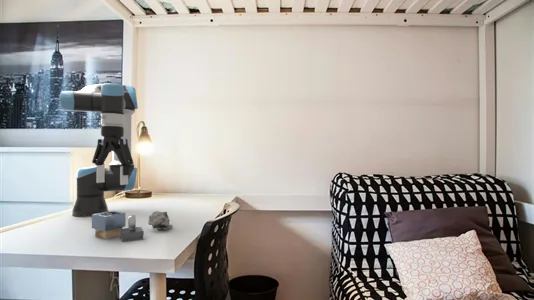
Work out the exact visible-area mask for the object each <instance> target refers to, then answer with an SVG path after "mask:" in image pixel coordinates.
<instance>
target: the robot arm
mask: <svg viewBox="0 0 534 300" xmlns="http://www.w3.org/2000/svg"><path fill="white" fill-rule="evenodd" d="M136 91H137V90H136V88H135V87H134V86H130V85H125V84H123V85H122V84H119V83H114V82H105V83H97V84H96V83H95V84H91V85H87V86H84V87H82V89H80V90H77V91H76V90H75V91H74V90H62V91H61V92H60V94H59V105H60V106H59V107H60V108H61V110H62V111H66V112H67V111H68V112H85V113H87V112H89V113H100V124H101V127H100V136H101V137H103V138H101V139H100V138H98V139H97V145H96V149H95V151H94V155H93V158H92V160H91V162H92V164H95V165H94V166H86V167H81V168H78V170H77V172H76V178H75V179H76V199H75V200H76V201H75V202H74V204H73V208H72V212H71V214H72V216H73V217H92V214H97V213H103V212H108V210H109V208H108V205H107V201H106V199H105V193H106V192H126V191H132V190H134V189H135V186H136V181H137V180H136V179H137V173H138V168H137V167H135V163H134V159H133V157H132V119H133V118H132V115H134V113H135V112H136V110H137V109H138V100H137V93H136ZM111 152H112V161H111V162H110V163H109V164H108V168H107V167H106V168H105V161H106V160H107V158H108V156H109V154H110V153H111Z"/></svg>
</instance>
